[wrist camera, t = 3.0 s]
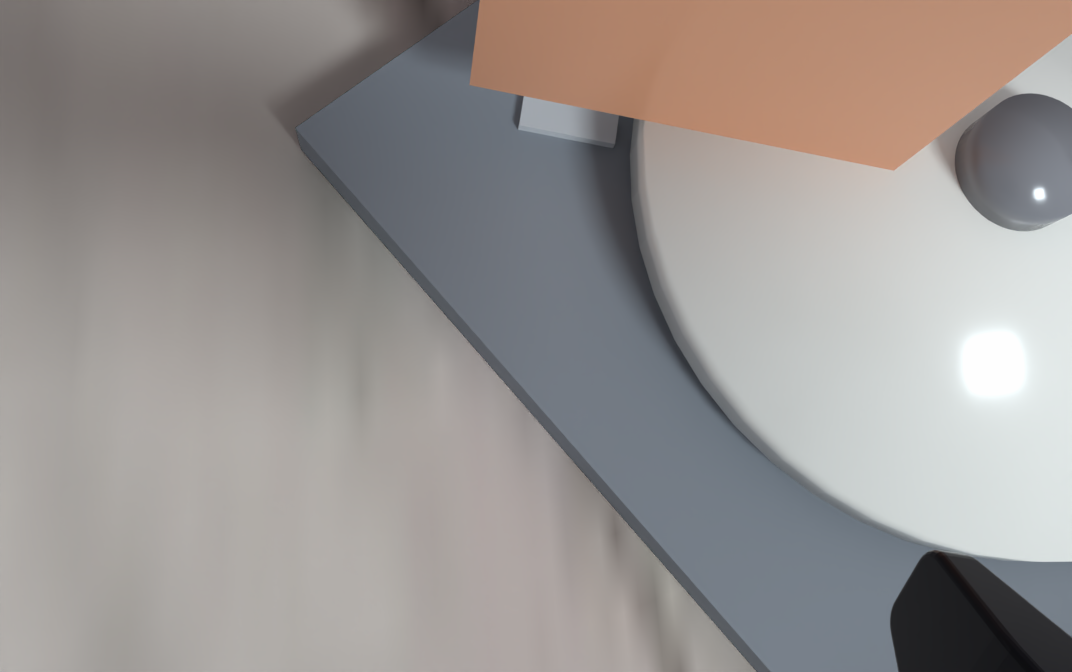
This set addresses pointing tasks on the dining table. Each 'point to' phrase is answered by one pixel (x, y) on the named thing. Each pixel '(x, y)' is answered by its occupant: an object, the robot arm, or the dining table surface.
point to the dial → (850, 235)
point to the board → (611, 351)
